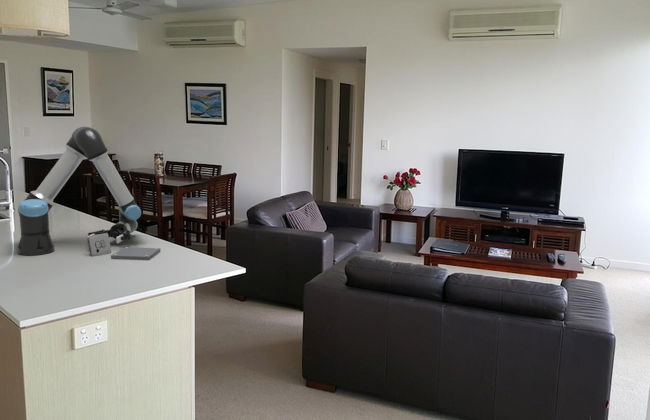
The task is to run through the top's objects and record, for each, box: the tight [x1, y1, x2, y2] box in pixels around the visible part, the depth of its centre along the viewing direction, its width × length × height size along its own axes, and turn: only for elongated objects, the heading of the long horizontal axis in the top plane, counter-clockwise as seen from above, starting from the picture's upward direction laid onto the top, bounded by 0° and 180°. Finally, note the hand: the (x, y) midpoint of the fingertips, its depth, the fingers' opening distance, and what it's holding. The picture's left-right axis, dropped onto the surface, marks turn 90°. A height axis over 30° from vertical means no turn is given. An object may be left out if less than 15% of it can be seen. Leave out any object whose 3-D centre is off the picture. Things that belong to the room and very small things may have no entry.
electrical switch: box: [86, 233, 112, 257], centre depth 255 cm, size 9×5×9 cm, turn 141°
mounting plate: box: [110, 246, 161, 261], centre depth 255 cm, size 17×16×2 cm
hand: (102, 239), depth 258 cm, fingers open, 13 cm apart
